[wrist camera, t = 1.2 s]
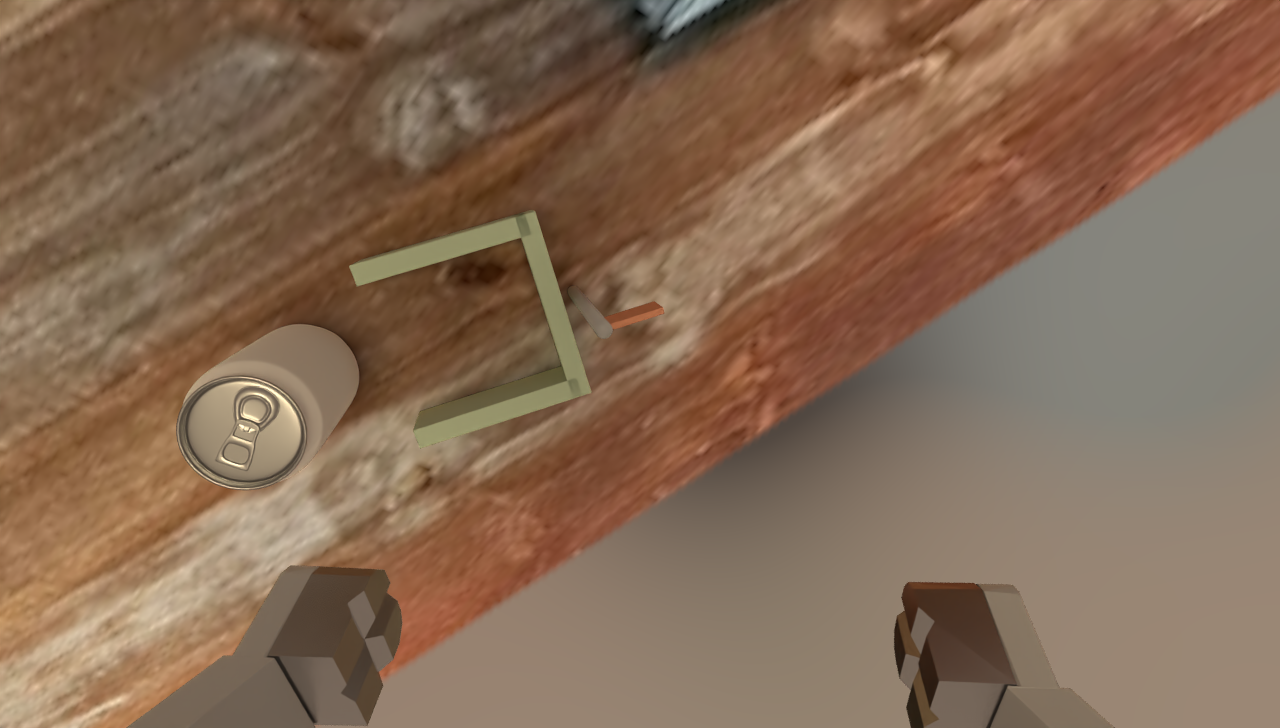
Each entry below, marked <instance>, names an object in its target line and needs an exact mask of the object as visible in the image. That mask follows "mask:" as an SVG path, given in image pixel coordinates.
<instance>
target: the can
mask: <svg viewBox="0 0 1280 728" xmlns="http://www.w3.org/2000/svg"><path fill="white" fill-rule="evenodd" d="M358 385H359V369H358V364H357V361H356V359H355V356H354V354H353V353H352V351H351V349H350V348H349V347H348V345H347V344H346V343H345V342H344V341H343V340H342V339H341V338H340V337H339V336H337V335H336V334H335V333H333V332H331V331H329V330H327V329H324V328H321V327H317V326H313V325H307V324H293V325H288V326H284V327H281V328H278V329H276V330H274V331H272V332H270V333H268V334H266V335H265V336H263V337H261V338H260V339H258V340H256V341H255V342H253V343H251V344H250V345H248V346H246V347H245V348H243V349H242V350H240V351H238V352H237V353H235V354H234V355H232V356H230V357H229V358H227V359H226V360H224V361H222V362H221V363H219V364H218V365H216V366H215V367H213V368H212V369H210V370H209V371H207V372H206V373H205V374H204V375H202V376H201V377H200V378H199V379H198V380H197V381H196V382H195V383H194V385H193V386H192V387H191V389H190V390H189V392H188V393H187V395H186V397H185V400H184V402H183V406H182V408H181V410H180V413H179V416H178V419H177V426H176V434H177V441H178V445H179V448H180V450H181V453H182V455H183V456H184V458H185V460H186V461H187V463H188V464H189V465H190V466H191V467H192V468H193V469H194V470H195V471H196V472H197V473H198V474H199V475H200V476H202V477H203V478H205V479H206V480H208V481H210V482H212V483H214V484H216V485H219V486H222V487H225V488H229V489H235V490H255V489H261V488H265V487H268V486H271V485H273V484H275V483H277V482H280V481H283V480H285V479H288V478H290V477H292V476H293V475H295V474H296V473H298V472H299V471H301V470H302V469H303V468H304V467H305V466H306V465H307V464H308V463H309V462H310V461H311V460H312V459H313V458H314V456H315V455H316V454H317V452H318V451H319V450H320V448H321V447H322V445H323V444H324V443H325V441H326V440H327V438H328V437H329V435H330V434H331V432H332V431H333V430H334V428H335V427H336V425H337V424H338V422H339V421H340V419H341V418H342V416H343V415H344V413H345V412H346V410H347V409H348V407H349V406H350V404H351V403H352V401H353V399H354V397H355V395H356V392H357V389H358Z"/></svg>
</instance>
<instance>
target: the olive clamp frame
mask: <svg viewBox="0 0 1280 728" xmlns="http://www.w3.org/2000/svg"><path fill="white" fill-rule="evenodd" d="M518 238H521V241H522V244H523V247H524V250H525V253H526V256H527V259H528V262H529V266H530V269H531V272H532V275H533V278H534V281H535V284H536V287H537V291H538V294H539V297H540V300H541V303H542V306H543V309H544V312H545V316H546V319H547V322H548V325H549V328H550V331H551V334H552V337H553V341H554V344H555V347H556V350H557V353H558V356H559V359H560V362H561V366H560V367H557V368H554V369H551V370H548V371H545V372H541V373H538V374H535V375H532V376H529V377H526V378H523V379H520V380H516V381H513V382H510V383H507V384H504V385H501V386H498V387H495V388H491V389H488V390H485V391H482V392H479V393H476V394H473V395H470V396H466V397H463V398H460V399H457V400H454V401H451V402H448V403H445V404H441V405H438V406H435V407H432V408H429V409H426V410H423V411H420V412H419V415H418V418H417V421H416V424H415V427H414V429H413V432H414V434H415V437H416V439H417V442H418V444H419V447H420V449H421V448H424V447H427V446H430V445H433V444H436V443H439V442H442V441H445V440H448V439H451V438H454V437H457V436H460V435H463V434H467V433H470V432H473V431H476V430H479V429H482V428H485V427H488V426H491V425H494V424H497V423H500V422H503V421H506V420H509V419H513V418H516V417H519V416H522V415H525V414H528V413H531V412H534V411H537V410H540V409H543V408H546V407H549V406H552V405H555V404H559V403H562V402H565V401H568V400H571V399H574V398H577V397H580V396H583V395H586V394H589V393H592V392H591V389H590V386H589V383H588V379H587V376H586V373H585V370H584V367H583V363H582V360H581V357H580V354H579V351H578V347H577V344H576V341H575V338H574V335H573V331H572V328H571V325H570V322H569V318H568V315H567V312H566V309H565V306H564V302H563V299H562V296H561V293H560V290H559V286H558V283H557V280H556V277H555V273H554V270H553V267H552V264H551V261H550V257H549V254H548V251H547V248H546V245H545V241H544V238H543V235H542V232H541V228H540V225H539V222H538V219H537V216H536V212H535V211H533V210H530V211H526V212H523V213H519V214H516V215H512V216H509V217H506V218H502V219H499V220H495V221H492V222H489V223H485V224H482V225H478V226H475V227H471V228H468V229H465V230H461V231H458V232H454V233H451V234H448V235H444V236H441V237H437V238H434V239H431V240H427V241H424V242H420V243H417V244H413V245H410V246H407V247H403V248H400V249H396V250H393V251H390V252H386V253H383V254H379V255H376V256H372V257H369V258H366V259H362V260H360V261H358V262H356V263H354V264H352V265H350V266H349V267H350V270H351V272H352V275H353V277H354V280H355V283H356V285H357V286H360V285H364V284H367V283H370V282H374V281H377V280H380V279H384V278H387V277H390V276H394V275H397V274H401V273H404V272H407V271H411V270H414V269H417V268H421V267H424V266H428V265H431V264H434V263H438V262H441V261H444V260H448V259H451V258H454V257H458V256H461V255H465V254H468V253H471V252H475V251H478V250H481V249H485V248H488V247H491V246H495V245H498V244H502V243H505V242H508V241H512V240H515V239H518ZM567 293H568V295H569V297H570V298H571V299H572V301H573V302H574V303H575V305H576V306H577V308H578V309H579V310H580V312H581V313H582V315H583V316H584V317H585V319H586V320H587V322H588V323H589V324H590V326H591V327H592V329H593V330H594V331H595V333H596V334H597V336H598V337H600V338H602V339H606V338H608V337H610V336H611V334H612V331H613V330H614V329H617V328H620V327H623V326H626V325H630V324H633V323H636V322H639V321H642V320H645V319H649V318H652V317H655V316H658V315H661V314H664V310H663V307H662V306H660V305H659V304H657V303H656V302H651V303H648V304H645V305H641V306H638V307H635V308H632V309H629V310H625V311H622V312H619V313H616V314H613V315H609V316H606V317H604V316H603V315H602V314H601V313H600V312H599V311H598V310H597V308H596V307H595V306H594V305H593V304H592V303H591V302H590V300H589V299H588V298H587V297H586V296H585V295H584V294H583V292H582V291H581V290H580V289H579V288H578V287H577V286H574V285H573V286H570V287H569V288H568V291H567Z"/></svg>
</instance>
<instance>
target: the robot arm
mask: <svg viewBox="0 0 1280 728" xmlns="http://www.w3.org/2000/svg"><path fill="white" fill-rule="evenodd" d="M389 585H390V581H389V579H388V577H387V575H386V572H385V570H379V569H359V568H339V567H322V566H292V565H290V566H289V567H288V568H287V569H286V570H284V571H283V572H282V573H281V574H280V576H279V577H278V579H277V581H276V582H275V584H274V586H273V588H272V589H271V591H270V593H269V594H268V596H267V598H266V599H265V601H264V603H263V605H262V606H261V608H260V610H259V611H258V613H257V615H256V616H255V618H254V620H253V621H252V623H251V625H250V627H249V628H248V630H247V632H246V633H245V635H244V637H243V638H242V640H241V642H240V643H239V645H238V647H237V649H236V650H235V652H234V654H233V655H232V656H222V657H221V658H220V659H218V660H217V661H216V662H214V663H213V664H211V665H210V666H209V667H207V668H206V669H205V670H203V671H202V672H201V673H199V674H198V675H197V676H195V677H194V678H193V679H191V680H190V681H189V682H187V683H186V684H185V685H183V686H182V687H181V688H179V689H178V690H176V691H175V692H174V693H172V694H171V695H170V696H168V697H167V698H166V699H164V700H163V701H162V702H160V703H159V704H158V705H156V706H155V707H154V708H152V709H151V710H150V711H148V712H147V713H145V714H144V715H143V716H141V717H140V718H139V719H137V720H136V721H135V722H133V723H132V724H131V725H129V726H128V727H127V728H315V726H314V725H353V726H354V725H355V726H367V725H368V723H369V720H370V718H371V715H372V713H373V710H374V708H375V705H376V703H377V700H378V698H379V695H380V693H381V690H382V687H383V683H382V680H381V677H380V674H379V671H381V670H382V669H383V668H384V667H385V666H386V665H387V664H389V663H390V662H391V661H392V660H393V659H394V656H395V653H396V651H397V648H398V645H399V642H400V636H401V629H402V616H401V609H400V607H399V604H398V601H397V600H396V599H394V598H393V597H392V596H390V595H389V594H388V593H386V592H387V590H388V587H389ZM901 598H902V602H903V606H904V610H905V611H903V612H902V613H901V614H899V615H897V618H896V623H895V629H894V650H895V658H896V665H897V668H898V674H899V678H900V679H901V681H902V682H903V683H904V684H905V685H906V686H907V687H908V688H909V689H910V690H911V691H910V695H909V698H908V702H907V706H906V709H907V713H908V718H909V722H910V726H911V728H1115V727H1113V726H1112V725H1111V724H1110V723H1109V722H1108V721H1107V720H1106V719H1104V718H1103V717H1102V716H1101V715H1100V714H1099V713H1098V712H1097V711H1095V710H1094V709H1093V708H1092V707H1091V706H1090V705H1089V704H1088V703H1086V702H1085V701H1084V700H1083V699H1082V698H1081V697H1080V696H1079V695H1077V694H1076V693H1075V692H1074V691H1073V690H1072V689H1070V688H1060V687H1059V685H1058V683H1057V680H1056V678H1055V675H1054V673H1053V671H1052V668H1051V666H1050V664H1049V661H1048V659H1047V657H1046V654H1045V652H1044V649H1043V647H1042V645H1041V643H1040V640H1039V638H1038V635H1037V633H1036V631H1035V628H1034V626H1033V623H1032V621H1031V619H1030V616H1029V614H1028V612H1027V609H1026V607H1025V605H1024V603H1023V600H1022V597H1021V595H1020V593H1019V591H1018V590H1017V589H1016V588H1015V587H1014V586H1013V585H1007V584H1006V585H1004V584H974V583H933V582H929V583H928V582H908V583H907V584H906V585H905V586H904V589H903V593H902V597H901Z"/></svg>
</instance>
